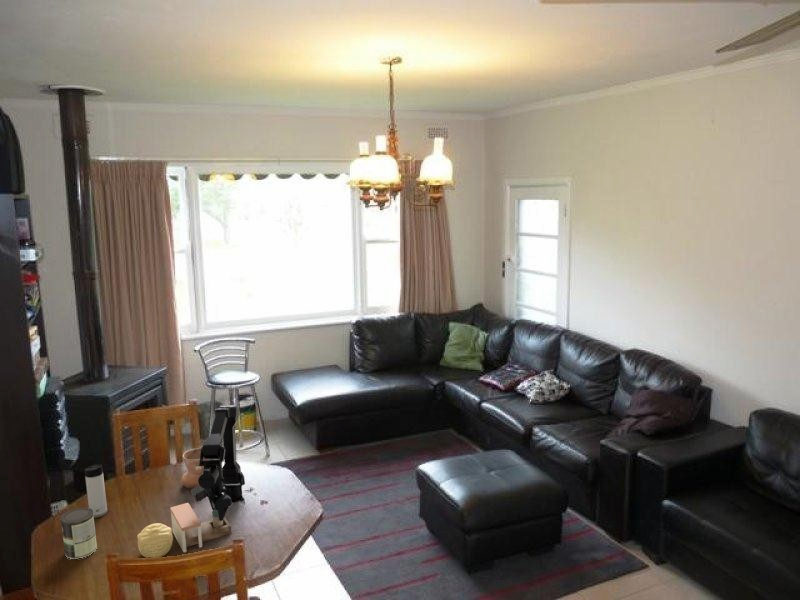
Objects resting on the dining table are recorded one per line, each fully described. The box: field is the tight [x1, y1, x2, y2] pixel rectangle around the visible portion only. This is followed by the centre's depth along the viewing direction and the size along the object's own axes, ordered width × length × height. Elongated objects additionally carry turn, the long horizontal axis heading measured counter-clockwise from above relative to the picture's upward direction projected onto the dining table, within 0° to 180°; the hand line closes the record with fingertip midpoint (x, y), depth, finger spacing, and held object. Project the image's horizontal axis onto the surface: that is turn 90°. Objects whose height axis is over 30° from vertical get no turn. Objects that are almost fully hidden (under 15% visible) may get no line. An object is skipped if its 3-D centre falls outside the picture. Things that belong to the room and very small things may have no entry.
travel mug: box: [84, 463, 108, 518], centre depth 249 cm, size 6×7×20 cm
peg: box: [211, 510, 223, 529], centre depth 236 cm, size 4×4×8 cm
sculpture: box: [136, 522, 174, 559], centre depth 222 cm, size 12×12×11 cm
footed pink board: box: [169, 502, 203, 553], centre depth 231 cm, size 6×17×10 cm, turn 32°
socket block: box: [185, 515, 233, 548], centre depth 234 cm, size 16×8×3 cm, turn 122°
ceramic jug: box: [181, 447, 209, 490], centre depth 273 cm, size 18×14×14 cm
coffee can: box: [60, 507, 98, 560], centre depth 224 cm, size 10×10×14 cm
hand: (217, 515), depth 235 cm, fingers open, 9 cm apart
